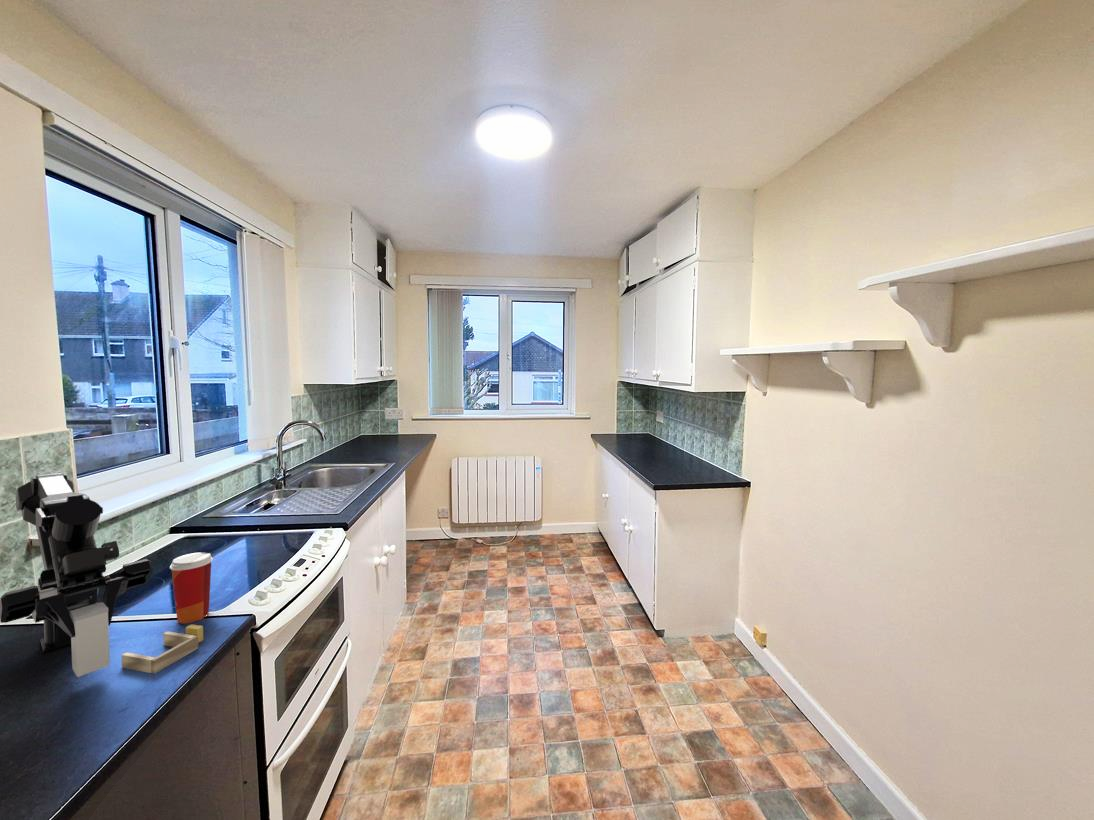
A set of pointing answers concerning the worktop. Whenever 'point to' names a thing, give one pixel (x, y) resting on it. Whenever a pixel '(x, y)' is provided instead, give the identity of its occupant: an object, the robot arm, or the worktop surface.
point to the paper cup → (191, 586)
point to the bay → (154, 664)
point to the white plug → (90, 639)
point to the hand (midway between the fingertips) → (91, 630)
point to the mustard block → (195, 631)
